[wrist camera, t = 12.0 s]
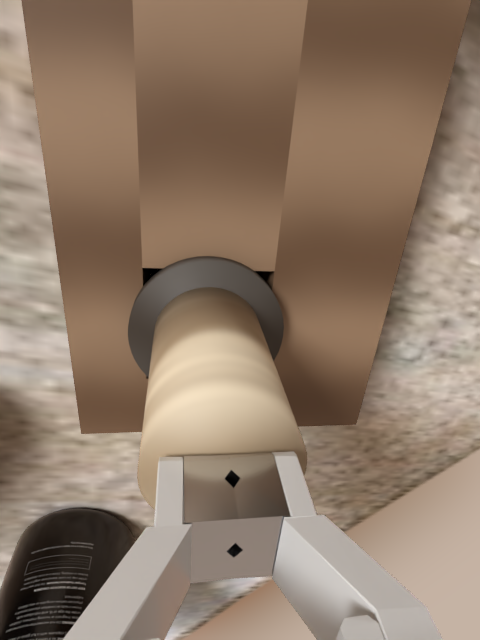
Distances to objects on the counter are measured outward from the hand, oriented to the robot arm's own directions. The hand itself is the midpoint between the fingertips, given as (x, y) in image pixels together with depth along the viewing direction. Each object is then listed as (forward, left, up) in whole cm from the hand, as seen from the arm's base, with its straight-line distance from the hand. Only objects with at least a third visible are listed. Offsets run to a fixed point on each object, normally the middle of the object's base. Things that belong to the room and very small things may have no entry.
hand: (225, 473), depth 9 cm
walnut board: (-3, +1, -10) cm, 11 cm away
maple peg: (0, 0, -10) cm, 10 cm away
